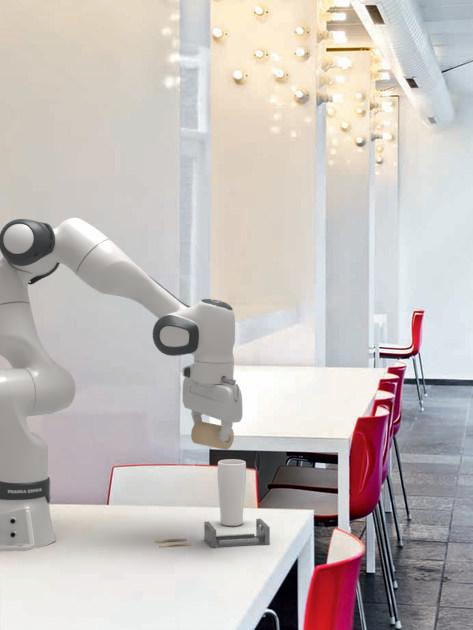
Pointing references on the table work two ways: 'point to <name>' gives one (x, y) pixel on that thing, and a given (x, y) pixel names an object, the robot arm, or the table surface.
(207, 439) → the roll
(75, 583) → the table surface
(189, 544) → the chock
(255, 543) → the holder
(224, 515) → the drinking glass
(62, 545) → the table surface
